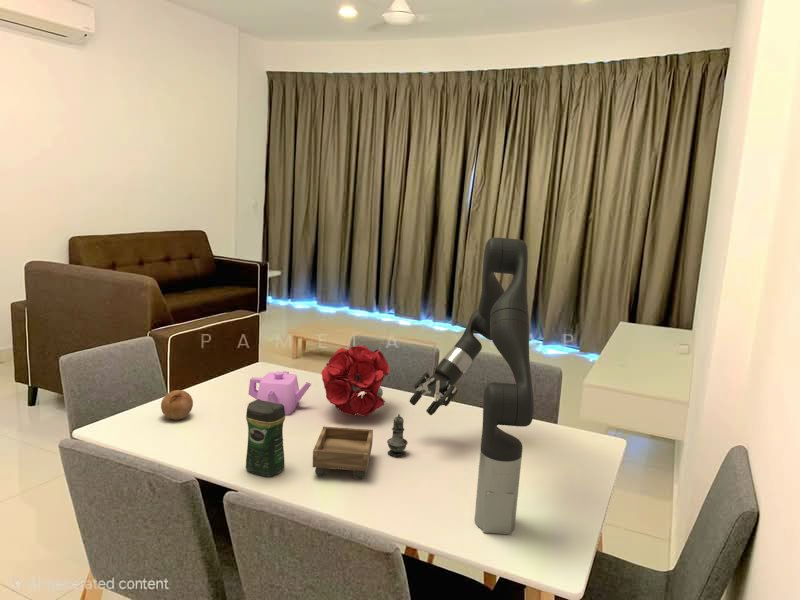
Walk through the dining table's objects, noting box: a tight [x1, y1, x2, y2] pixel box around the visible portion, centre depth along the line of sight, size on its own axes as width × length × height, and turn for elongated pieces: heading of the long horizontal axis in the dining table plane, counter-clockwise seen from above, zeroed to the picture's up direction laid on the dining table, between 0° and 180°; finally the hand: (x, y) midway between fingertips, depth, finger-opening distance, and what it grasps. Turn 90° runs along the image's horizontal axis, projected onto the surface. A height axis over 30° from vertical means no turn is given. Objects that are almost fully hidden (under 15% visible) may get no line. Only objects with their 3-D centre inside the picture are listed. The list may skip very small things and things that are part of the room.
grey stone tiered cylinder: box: [386, 413, 409, 458], centre depth 166 cm, size 6×6×12 cm
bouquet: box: [320, 345, 391, 417], centre depth 198 cm, size 22×24×30 cm
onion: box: [160, 389, 194, 421], centre depth 183 cm, size 10×9×10 cm
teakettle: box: [248, 370, 312, 416], centre depth 196 cm, size 17×17×12 cm
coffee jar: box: [245, 399, 286, 477], centre depth 152 cm, size 10×8×19 cm
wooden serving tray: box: [312, 426, 374, 480], centre depth 157 cm, size 16×14×8 cm
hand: (419, 408), depth 169 cm, fingers open, 8 cm apart
